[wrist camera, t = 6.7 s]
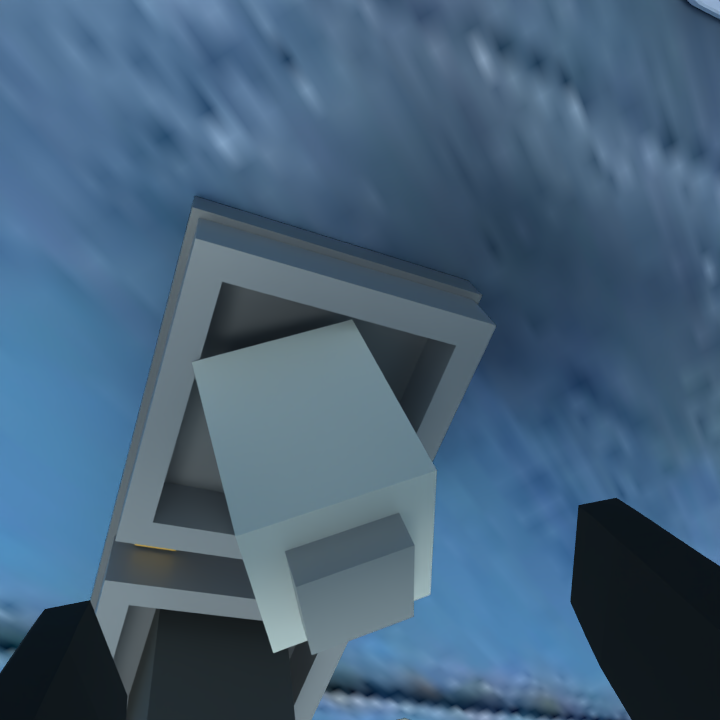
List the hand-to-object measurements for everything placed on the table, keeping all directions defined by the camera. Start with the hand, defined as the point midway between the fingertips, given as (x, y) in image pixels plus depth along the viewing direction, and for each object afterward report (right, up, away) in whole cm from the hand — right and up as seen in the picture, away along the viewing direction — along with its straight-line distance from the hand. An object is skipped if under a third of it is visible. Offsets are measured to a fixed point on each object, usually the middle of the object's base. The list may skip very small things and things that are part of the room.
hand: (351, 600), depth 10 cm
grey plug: (-2, +2, +8) cm, 8 cm away
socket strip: (-4, -1, +12) cm, 12 cm away
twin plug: (-5, -6, +13) cm, 15 cm away
